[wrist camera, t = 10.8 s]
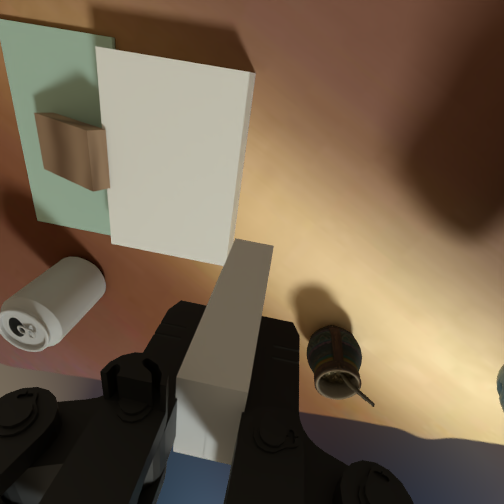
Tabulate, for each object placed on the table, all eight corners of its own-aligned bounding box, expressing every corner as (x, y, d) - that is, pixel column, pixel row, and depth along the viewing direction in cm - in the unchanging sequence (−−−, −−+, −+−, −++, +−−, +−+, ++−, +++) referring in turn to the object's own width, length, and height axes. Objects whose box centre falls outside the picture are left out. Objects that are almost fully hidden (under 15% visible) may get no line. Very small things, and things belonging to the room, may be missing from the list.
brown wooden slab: (105, 129, 31) (86, 130, 30) (110, 188, 34) (93, 191, 32) (53, 112, 35) (33, 112, 33) (61, 166, 38) (43, 168, 36)
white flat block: (255, 73, 31) (249, 72, 27) (232, 250, 40) (225, 266, 37) (118, 50, 31) (95, 46, 28) (127, 229, 41) (111, 243, 38)
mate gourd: (305, 318, 44) (307, 376, 35) (361, 319, 43) (378, 379, 34) (305, 356, 47) (307, 417, 38) (358, 357, 46) (372, 421, 37)
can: (56, 248, 44) (-20, 300, 34) (107, 259, 44) (46, 314, 33) (63, 291, 48) (-3, 349, 37) (110, 301, 48) (57, 363, 37)
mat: (114, 37, 31) (111, 37, 31) (125, 236, 42) (123, 237, 41) (0, 19, 32) (-5, 18, 31) (40, 219, 42) (37, 220, 42)
